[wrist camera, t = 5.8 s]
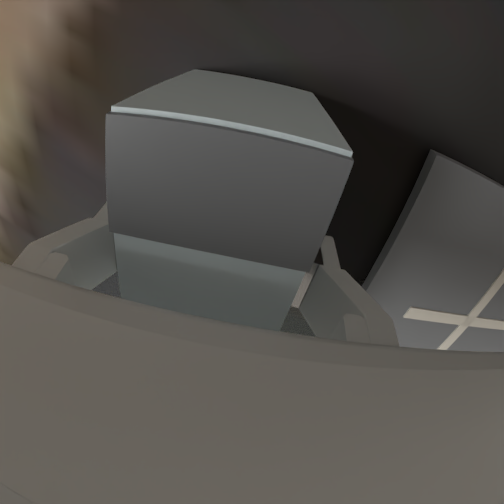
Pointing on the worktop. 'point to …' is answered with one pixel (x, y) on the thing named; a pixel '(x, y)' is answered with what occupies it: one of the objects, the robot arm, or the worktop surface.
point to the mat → (445, 262)
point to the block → (221, 194)
